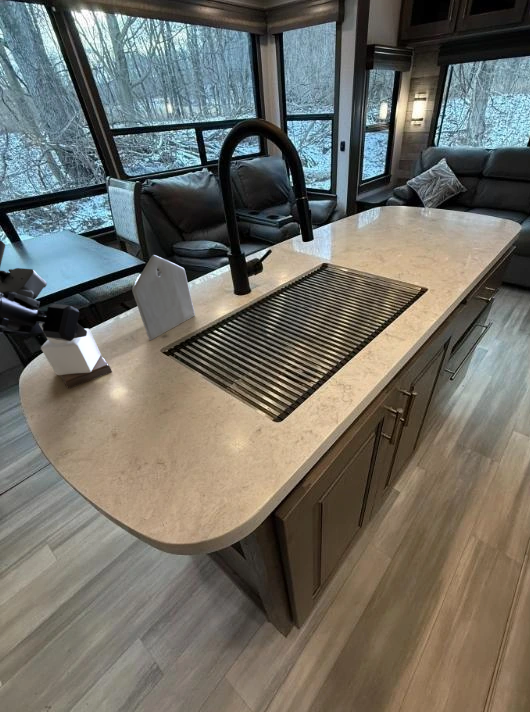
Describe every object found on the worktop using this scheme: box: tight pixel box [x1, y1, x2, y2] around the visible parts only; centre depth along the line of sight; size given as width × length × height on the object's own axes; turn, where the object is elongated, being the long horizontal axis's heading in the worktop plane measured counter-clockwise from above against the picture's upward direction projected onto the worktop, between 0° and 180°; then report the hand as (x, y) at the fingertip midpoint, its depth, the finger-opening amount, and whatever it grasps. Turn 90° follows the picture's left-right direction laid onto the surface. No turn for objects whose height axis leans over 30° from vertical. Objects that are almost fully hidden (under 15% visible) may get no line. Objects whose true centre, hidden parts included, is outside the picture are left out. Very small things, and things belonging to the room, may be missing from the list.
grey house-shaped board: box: [131, 254, 196, 341], centre depth 87 cm, size 16×8×19 cm, turn 149°
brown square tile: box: [60, 355, 113, 390], centre depth 75 cm, size 9×9×2 cm
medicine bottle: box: [39, 316, 102, 376], centre depth 70 cm, size 7×7×12 cm
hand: (67, 331), depth 70 cm, fingers open, 9 cm apart
